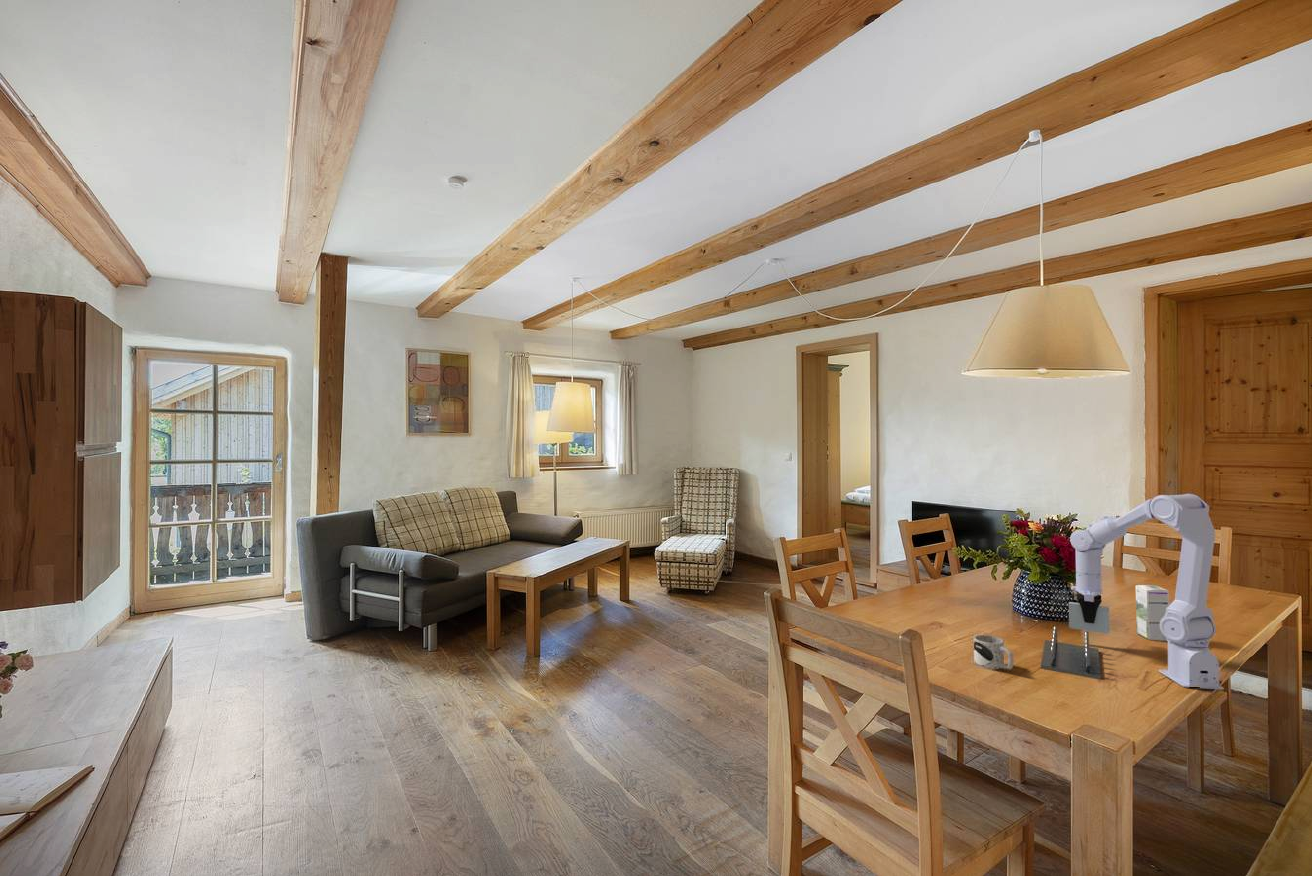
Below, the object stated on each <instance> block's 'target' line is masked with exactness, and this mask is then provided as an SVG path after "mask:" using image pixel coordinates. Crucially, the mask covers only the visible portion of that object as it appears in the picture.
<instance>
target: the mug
mask: <svg viewBox="0 0 1312 876" xmlns="http://www.w3.org/2000/svg"><path fill="white" fill-rule="evenodd" d="M1004 642H1005V641H1004V639H1003V638H1000V637H999V636H998V637H997V636H994V635H989V634H976V635H974V636H973V659H974V660H973V663H975V664H976V666H977V665H979V666H981V667H984V668H983V669H985V668H988V669H987V670H989V669H995V670H994V671H997V670H996V669H1001V670H1003V669H1005V670H1013V667H1014V660H1015V659H1014V653H1013V652H1012V651H1011V650H1010V649H1008V648H1007V647H1006V646H1005V643H1004ZM1005 654H1006V655H1007V658H1008V661H1007V662H1008V664H1006V663H1005ZM975 664H974V665H975ZM979 666H978V667H979ZM981 667H980V668H981ZM1002 668H1003V669H1002Z"/></svg>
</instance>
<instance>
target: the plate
mask: <svg viewBox="0 0 1312 876" xmlns="http://www.w3.org/2000/svg"><path fill="white" fill-rule="evenodd" d="M1068 627H1069V629H1073V630H1079V631H1080V630H1081V631H1087V632H1095V633H1103V634H1110V631H1111V630H1110V606H1105V605H1099V607H1098V609H1097V613H1096V618H1095V622H1094V624H1093V623H1086V622H1085V621H1084V618H1083V614H1082V609H1081V606H1080V604H1079V602H1073V601H1069V602H1068Z"/></svg>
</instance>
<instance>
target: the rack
mask: <svg viewBox="0 0 1312 876" xmlns="http://www.w3.org/2000/svg"><path fill="white" fill-rule="evenodd" d="M1052 632H1053V633H1052V638H1051V640H1048V639H1047V640H1046V639H1044V644H1043V651H1042V656H1041V660H1040V661H1041V663H1040V669H1044V670H1050V671H1056V672H1060V673H1065V674H1070V675H1076V676H1081V677H1085V678H1093V679H1097V680H1101V679H1102V677H1101V675H1102V674H1101V665H1100V664H1101V663H1100V653H1099V652H1100V651H1099V648H1095V647H1091V646H1090V634H1089V632H1090V631H1086V630H1084V645H1078V644H1072V643H1066V642H1059V641H1058V627H1057V626H1053V630H1052Z"/></svg>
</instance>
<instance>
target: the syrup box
mask: <svg viewBox="0 0 1312 876" xmlns="http://www.w3.org/2000/svg"><path fill="white" fill-rule="evenodd" d="M1169 593H1170V591H1169V590H1168V589H1165V588H1163V587H1160V586H1157V585H1153V584H1152V585H1151V584H1137V585H1135V611H1136V613H1135V616H1136V617H1135V619H1136V620H1135V621H1136V623H1135V624H1136V634H1137V635H1139V636H1141V637H1143V638H1145V639H1146V640H1149V641H1159V642H1161V641H1163V642H1168V641H1167V640H1166V637H1165V636H1164V635H1163V634H1162V632H1161V630H1160V621H1161V619H1162V618H1163V617H1164V616H1165V613H1166V609H1167V607H1168V606H1169V605H1170V594H1169Z"/></svg>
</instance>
